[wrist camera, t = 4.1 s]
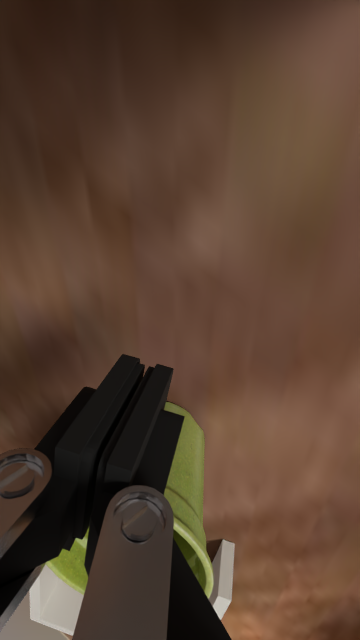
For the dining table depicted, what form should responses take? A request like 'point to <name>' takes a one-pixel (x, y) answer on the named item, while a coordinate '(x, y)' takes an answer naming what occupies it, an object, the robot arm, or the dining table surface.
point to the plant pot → (184, 502)
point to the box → (64, 602)
